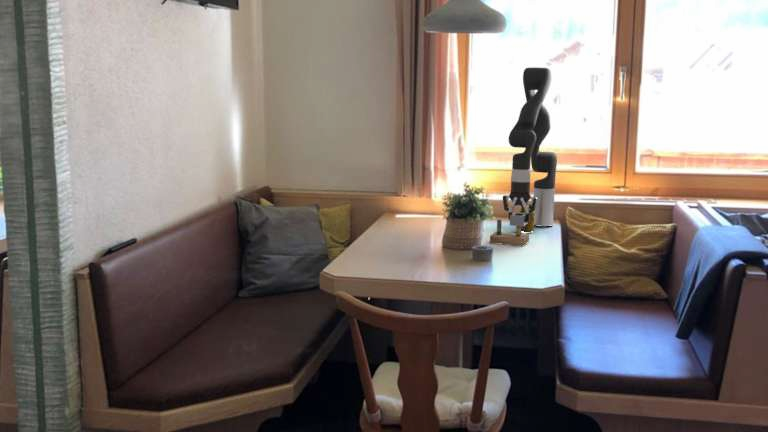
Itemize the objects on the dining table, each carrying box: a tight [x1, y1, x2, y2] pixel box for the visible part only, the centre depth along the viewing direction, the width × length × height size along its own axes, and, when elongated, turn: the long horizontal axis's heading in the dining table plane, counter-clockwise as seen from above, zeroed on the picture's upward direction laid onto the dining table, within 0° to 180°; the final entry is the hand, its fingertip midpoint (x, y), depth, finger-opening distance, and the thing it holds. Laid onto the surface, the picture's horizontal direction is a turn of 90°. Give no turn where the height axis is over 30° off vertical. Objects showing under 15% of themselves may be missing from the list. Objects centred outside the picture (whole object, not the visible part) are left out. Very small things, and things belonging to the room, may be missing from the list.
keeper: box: [489, 218, 530, 246], centre depth 324 cm, size 9×14×9 cm, turn 68°
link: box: [509, 211, 527, 227], centre depth 322 cm, size 8×6×4 cm
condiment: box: [519, 203, 535, 232], centre depth 345 cm, size 7×8×12 cm
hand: (518, 221), depth 322 cm, fingers closed on link, 5 cm apart
